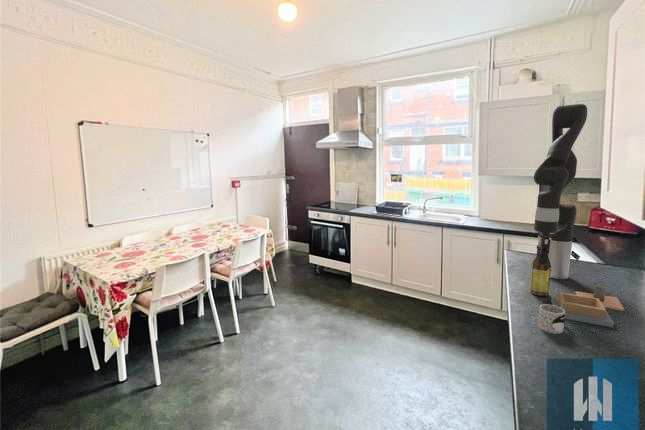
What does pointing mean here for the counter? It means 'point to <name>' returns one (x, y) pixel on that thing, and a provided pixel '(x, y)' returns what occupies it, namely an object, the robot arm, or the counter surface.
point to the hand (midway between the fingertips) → (542, 261)
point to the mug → (551, 319)
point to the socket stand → (583, 309)
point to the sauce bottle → (540, 275)
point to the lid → (603, 298)
